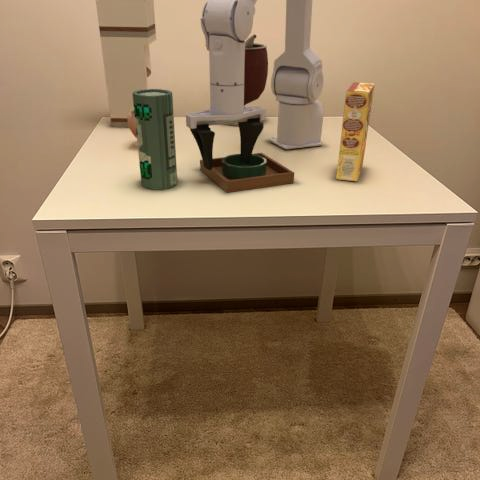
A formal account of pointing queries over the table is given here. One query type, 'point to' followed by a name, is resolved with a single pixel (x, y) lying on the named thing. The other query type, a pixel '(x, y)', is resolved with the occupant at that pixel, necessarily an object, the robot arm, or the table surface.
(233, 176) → the green round bowl
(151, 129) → the can
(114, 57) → the striped cream pillar
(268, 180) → the tray
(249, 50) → the mate gourd
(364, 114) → the candy box
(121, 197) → the table surface
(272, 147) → the table surface
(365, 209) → the table surface
